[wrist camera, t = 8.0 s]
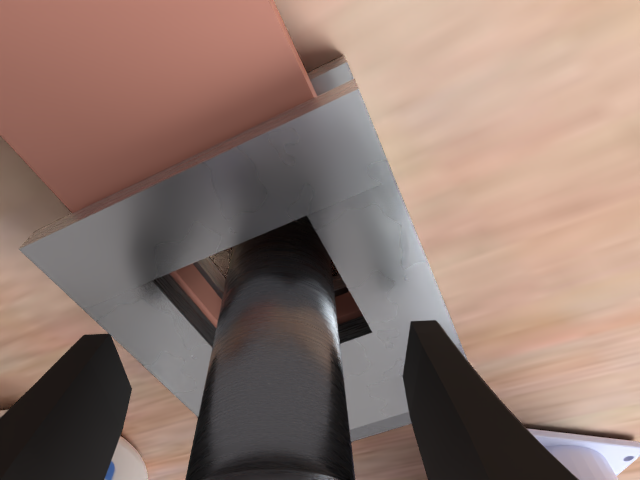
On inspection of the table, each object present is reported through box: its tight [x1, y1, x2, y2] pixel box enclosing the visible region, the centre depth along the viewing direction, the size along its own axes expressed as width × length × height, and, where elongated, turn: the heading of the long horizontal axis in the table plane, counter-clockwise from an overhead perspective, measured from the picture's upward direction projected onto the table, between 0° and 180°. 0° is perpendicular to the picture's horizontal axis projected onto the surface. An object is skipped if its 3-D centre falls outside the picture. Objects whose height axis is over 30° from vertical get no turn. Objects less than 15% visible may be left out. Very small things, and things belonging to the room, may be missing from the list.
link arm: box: [0, 0, 363, 327], centre depth 11 cm, size 18×7×2 cm, turn 25°
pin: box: [186, 215, 355, 480], centre depth 11 cm, size 4×4×10 cm
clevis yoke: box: [19, 55, 468, 442], centre depth 15 cm, size 13×9×3 cm
